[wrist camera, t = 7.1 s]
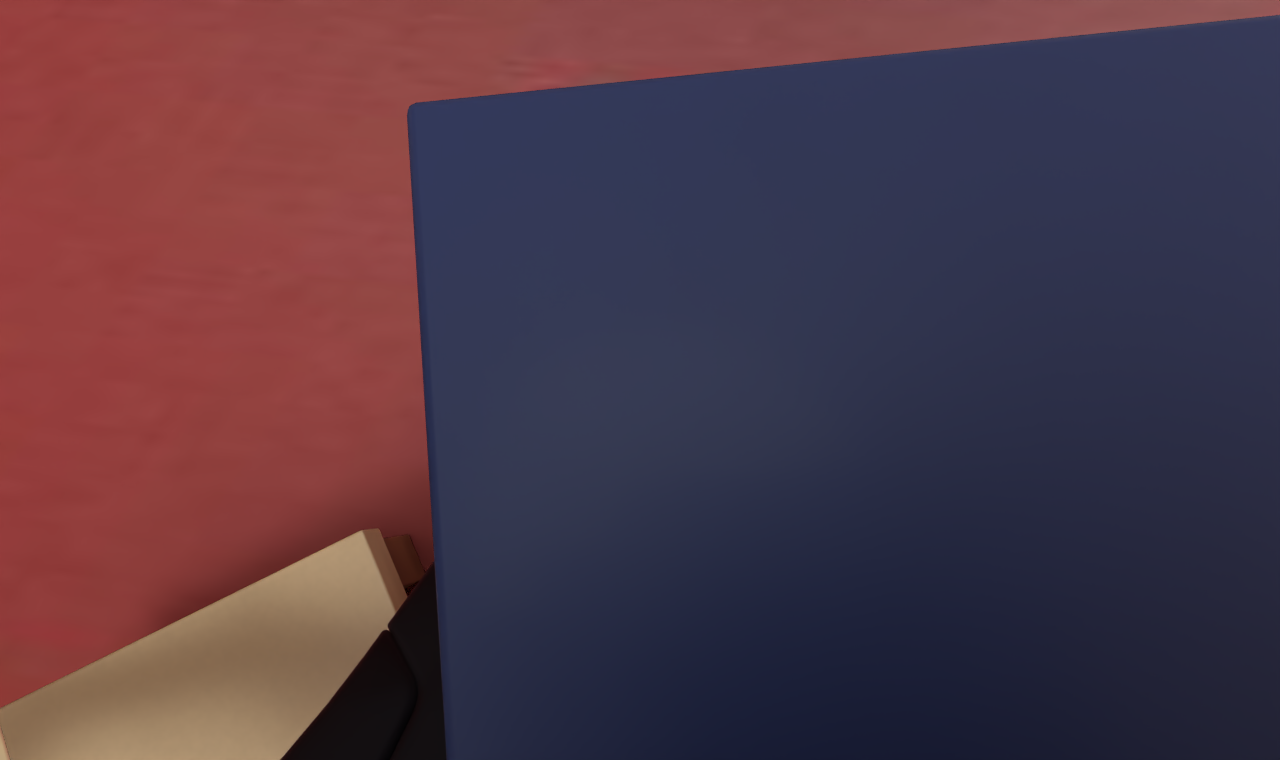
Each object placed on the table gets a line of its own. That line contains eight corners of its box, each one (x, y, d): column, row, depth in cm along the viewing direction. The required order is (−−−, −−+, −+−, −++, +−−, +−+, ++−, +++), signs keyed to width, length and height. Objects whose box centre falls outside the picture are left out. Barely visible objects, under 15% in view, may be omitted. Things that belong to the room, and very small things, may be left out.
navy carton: (848, 610, 14) (2156, 1271, 2) (612, 643, 14) (491, 1595, 2) (810, 399, 15) (1552, -20, 3) (587, 426, 15) (402, 98, 3)
